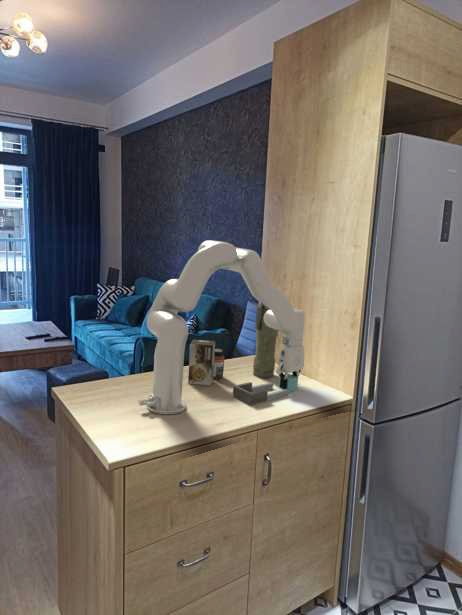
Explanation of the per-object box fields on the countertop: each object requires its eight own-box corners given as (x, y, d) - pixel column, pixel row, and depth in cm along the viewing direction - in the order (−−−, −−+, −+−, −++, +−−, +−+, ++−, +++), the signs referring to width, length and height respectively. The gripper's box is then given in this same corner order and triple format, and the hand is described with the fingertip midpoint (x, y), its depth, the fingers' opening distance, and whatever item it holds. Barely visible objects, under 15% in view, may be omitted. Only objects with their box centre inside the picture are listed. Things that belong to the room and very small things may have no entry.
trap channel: (249, 405, 156) (250, 394, 156) (232, 396, 163) (233, 385, 163) (287, 395, 169) (289, 385, 168) (270, 387, 176) (271, 377, 175)
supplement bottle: (206, 374, 184) (208, 347, 182) (220, 374, 186) (222, 347, 184) (210, 379, 179) (212, 352, 177) (224, 379, 181) (226, 352, 178)
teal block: (287, 392, 172) (289, 379, 171) (278, 387, 176) (279, 375, 175) (296, 389, 175) (298, 377, 174) (287, 385, 179) (289, 373, 178)
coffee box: (213, 380, 178) (216, 341, 175) (210, 386, 172) (213, 345, 169) (190, 378, 179) (193, 338, 176) (187, 383, 172) (189, 342, 169)
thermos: (280, 375, 191) (288, 293, 184) (261, 380, 183) (269, 295, 176) (265, 369, 197) (272, 290, 191) (245, 373, 189) (253, 291, 183)
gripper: (284, 346, 163) (279, 394, 167) (314, 341, 174) (310, 385, 178) (269, 341, 169) (265, 387, 173) (300, 336, 180) (296, 379, 183)
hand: (288, 386), depth 175 cm, fingers closed on teal block, 5 cm apart
